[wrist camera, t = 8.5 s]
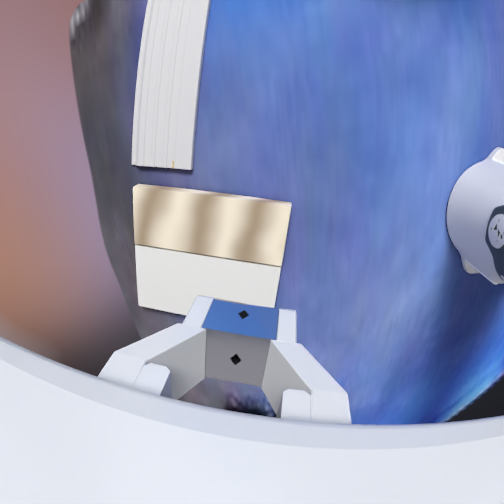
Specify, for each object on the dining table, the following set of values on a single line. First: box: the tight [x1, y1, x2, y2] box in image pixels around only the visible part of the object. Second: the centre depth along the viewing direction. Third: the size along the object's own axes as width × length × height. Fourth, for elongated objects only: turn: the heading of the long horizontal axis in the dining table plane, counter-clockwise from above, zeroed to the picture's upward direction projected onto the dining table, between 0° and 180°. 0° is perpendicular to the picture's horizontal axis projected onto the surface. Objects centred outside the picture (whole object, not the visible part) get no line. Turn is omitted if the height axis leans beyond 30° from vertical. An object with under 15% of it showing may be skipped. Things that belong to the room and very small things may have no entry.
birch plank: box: [133, 184, 291, 266], centre depth 41 cm, size 20×8×2 cm, turn 84°
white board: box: [135, 244, 281, 315], centre depth 45 cm, size 20×10×2 cm, turn 83°
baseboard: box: [132, 0, 211, 170], centre depth 33 cm, size 30×3×10 cm
